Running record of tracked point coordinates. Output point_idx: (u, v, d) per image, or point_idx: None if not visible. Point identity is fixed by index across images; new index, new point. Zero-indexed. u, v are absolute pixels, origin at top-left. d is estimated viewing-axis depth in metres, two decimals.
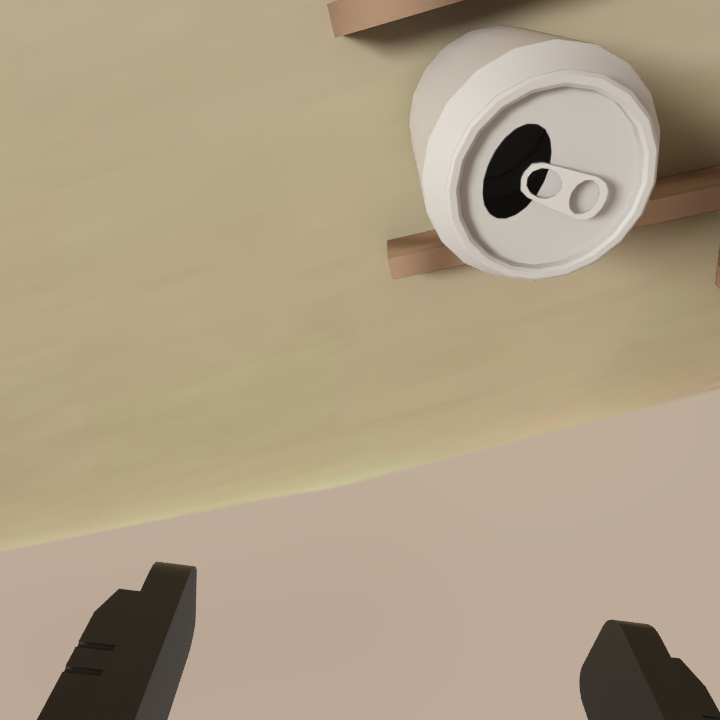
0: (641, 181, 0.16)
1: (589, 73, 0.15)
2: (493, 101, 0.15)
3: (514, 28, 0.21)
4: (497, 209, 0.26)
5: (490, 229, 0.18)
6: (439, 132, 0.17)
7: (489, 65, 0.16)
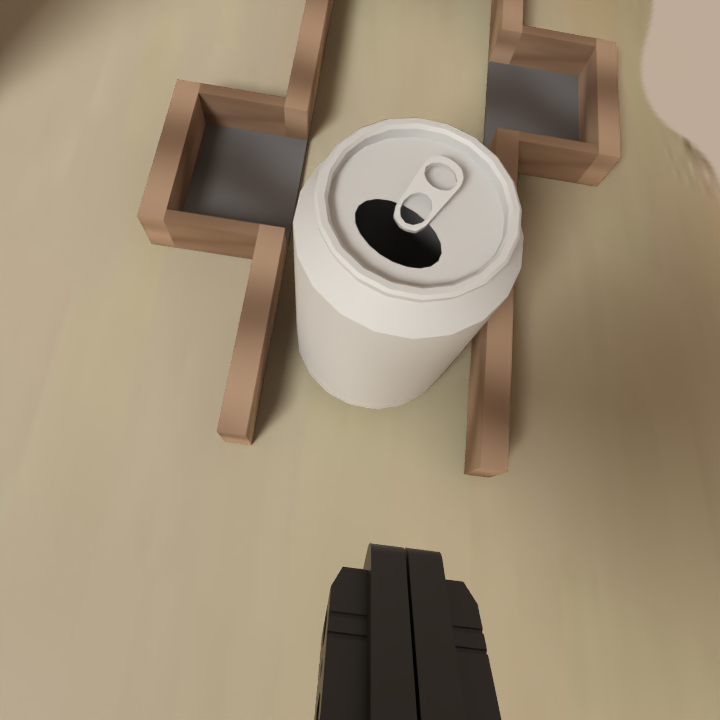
0: (442, 134, 0.17)
1: (330, 153, 0.16)
2: (320, 228, 0.15)
3: None
4: None
5: (448, 270, 0.16)
6: (336, 298, 0.16)
7: (296, 243, 0.17)
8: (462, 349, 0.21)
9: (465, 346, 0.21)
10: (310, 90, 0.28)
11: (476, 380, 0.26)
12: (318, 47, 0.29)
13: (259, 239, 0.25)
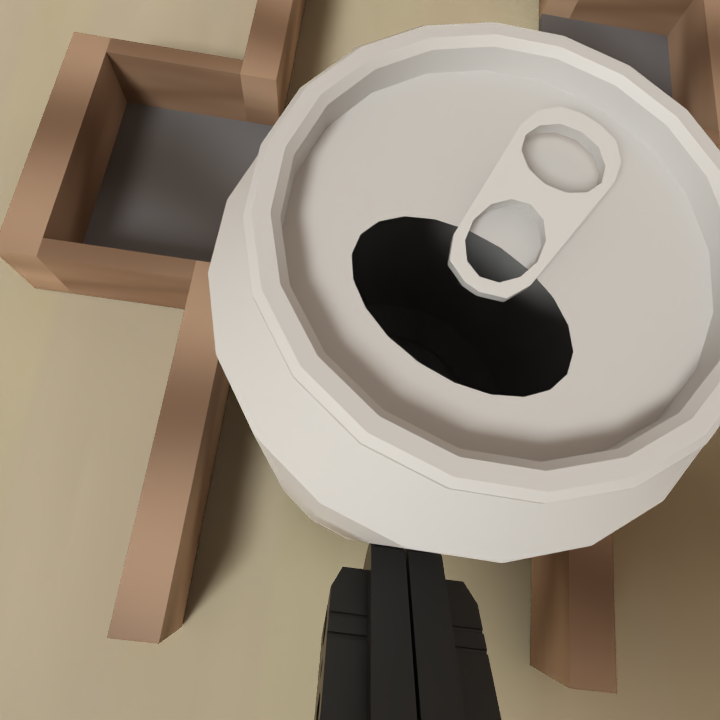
0: (553, 60, 0.07)
1: None
2: (261, 303, 0.06)
3: None
4: None
5: (594, 397, 0.06)
6: (309, 469, 0.06)
7: (216, 324, 0.07)
8: None
9: None
10: (281, 49, 0.19)
11: None
12: None
13: (194, 286, 0.16)
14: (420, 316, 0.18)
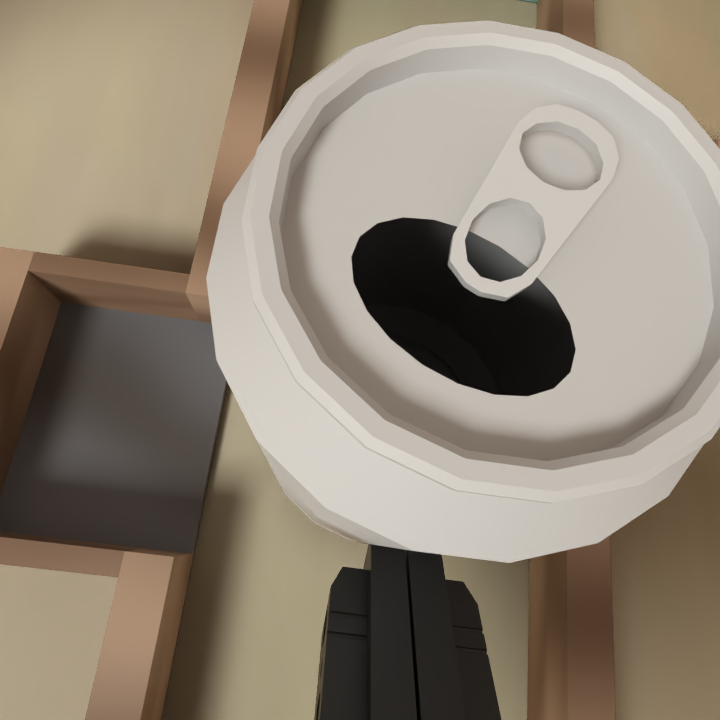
0: (548, 57, 0.07)
1: None
2: (262, 308, 0.06)
3: None
4: None
5: (598, 395, 0.06)
6: (314, 472, 0.06)
7: (215, 329, 0.07)
8: None
9: None
10: None
11: None
12: None
13: (121, 587, 0.13)
14: (417, 315, 0.18)
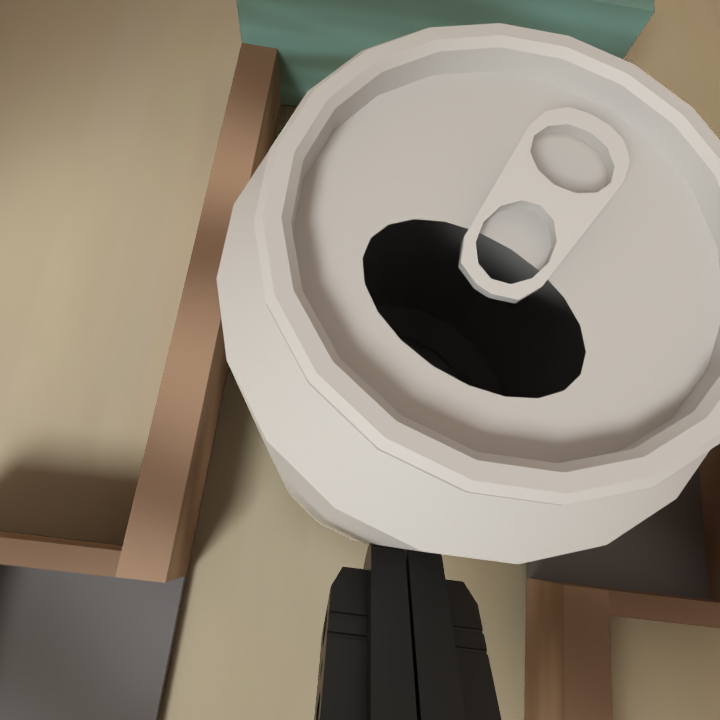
0: (559, 60, 0.07)
1: None
2: (274, 309, 0.06)
3: None
4: None
5: (608, 397, 0.06)
6: (323, 473, 0.06)
7: (226, 330, 0.07)
8: None
9: None
10: (176, 523, 0.14)
11: None
12: (199, 409, 0.15)
13: None
14: (421, 316, 0.18)
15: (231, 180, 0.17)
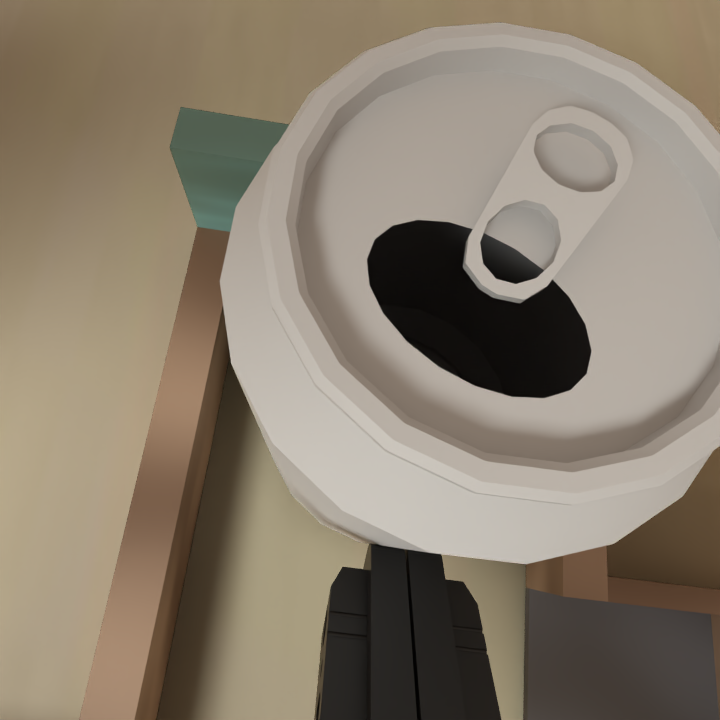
0: (560, 59, 0.07)
1: None
2: (280, 312, 0.06)
3: None
4: None
5: (614, 396, 0.06)
6: (331, 476, 0.06)
7: (230, 333, 0.07)
8: None
9: None
10: None
11: None
12: None
13: None
14: (421, 315, 0.18)
15: (180, 407, 0.14)
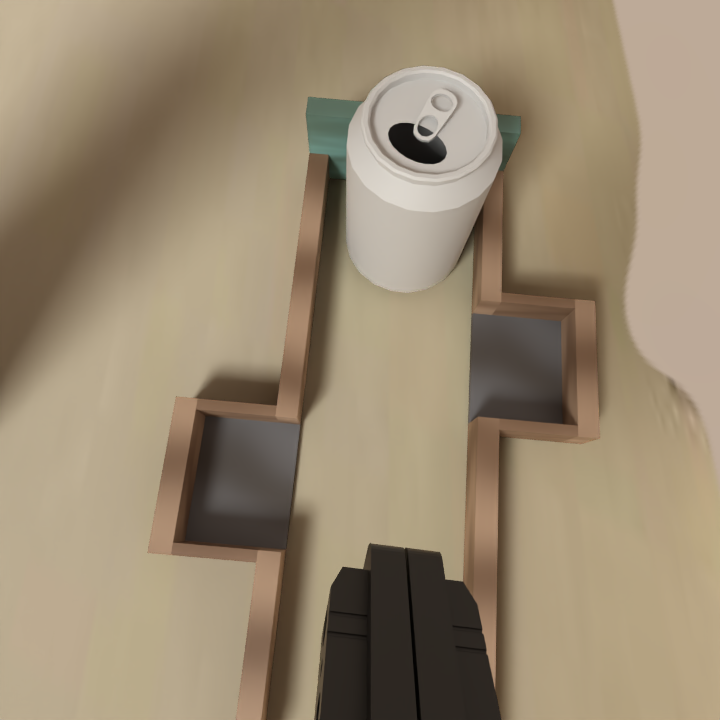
0: (441, 74, 0.25)
1: (368, 95, 0.25)
2: (367, 144, 0.24)
3: None
4: None
5: (452, 163, 0.24)
6: (380, 190, 0.25)
7: (351, 158, 0.25)
8: (469, 232, 0.30)
9: None
10: (299, 394, 0.30)
11: None
12: (305, 343, 0.31)
13: (258, 567, 0.28)
14: None
15: (310, 230, 0.33)
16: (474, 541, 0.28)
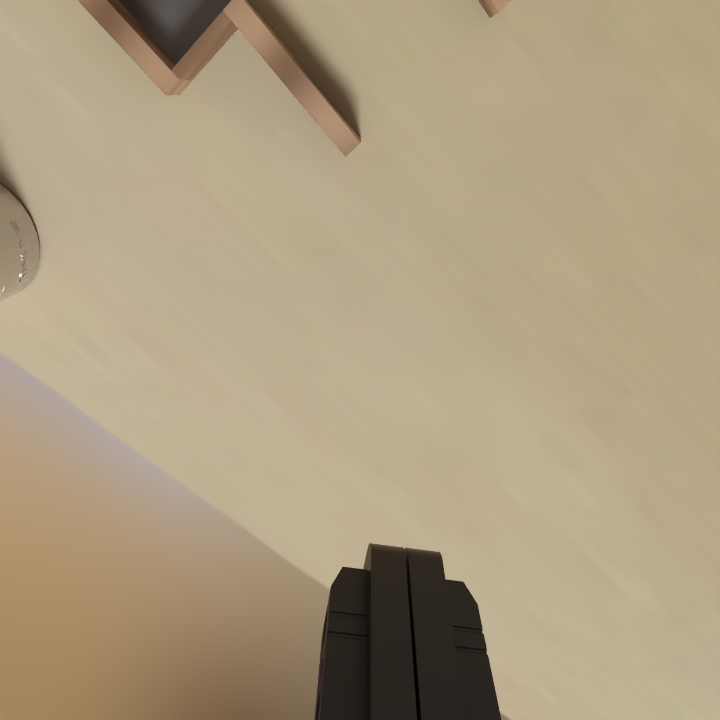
0: None
1: None
2: None
3: None
4: None
5: None
6: None
7: None
8: None
9: None
10: None
11: None
12: None
13: (235, 21, 0.30)
14: None
15: None
16: None
